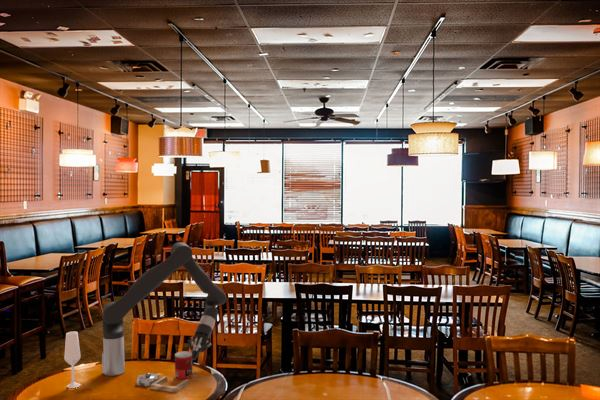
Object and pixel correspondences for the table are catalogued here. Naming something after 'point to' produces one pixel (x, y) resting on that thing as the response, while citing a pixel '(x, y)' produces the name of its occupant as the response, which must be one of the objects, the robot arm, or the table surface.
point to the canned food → (183, 365)
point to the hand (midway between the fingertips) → (193, 359)
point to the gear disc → (147, 379)
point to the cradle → (158, 386)
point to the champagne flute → (72, 354)
